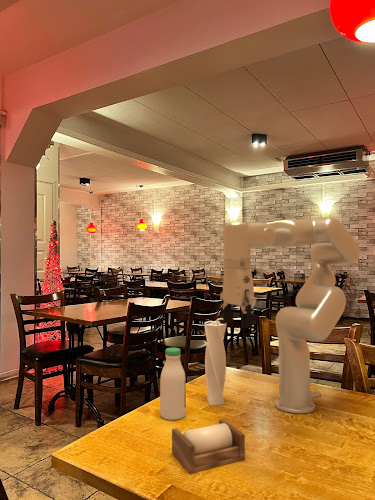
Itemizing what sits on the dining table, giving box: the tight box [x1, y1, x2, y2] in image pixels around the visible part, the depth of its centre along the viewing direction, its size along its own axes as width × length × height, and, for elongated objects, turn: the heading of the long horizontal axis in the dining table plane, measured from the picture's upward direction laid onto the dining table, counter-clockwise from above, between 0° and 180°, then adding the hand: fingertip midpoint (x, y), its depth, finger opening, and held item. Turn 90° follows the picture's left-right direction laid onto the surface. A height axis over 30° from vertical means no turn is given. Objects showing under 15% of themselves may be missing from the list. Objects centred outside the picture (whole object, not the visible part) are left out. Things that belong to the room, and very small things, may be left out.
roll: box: [183, 423, 232, 456], centre depth 94 cm, size 10×6×6 cm, turn 115°
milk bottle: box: [159, 347, 187, 421], centre depth 118 cm, size 8×8×20 cm
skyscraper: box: [203, 317, 228, 406], centre depth 129 cm, size 8×8×28 cm
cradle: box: [171, 418, 246, 475], centre depth 94 cm, size 14×10×6 cm
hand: (237, 325), depth 112 cm, fingers open, 9 cm apart
